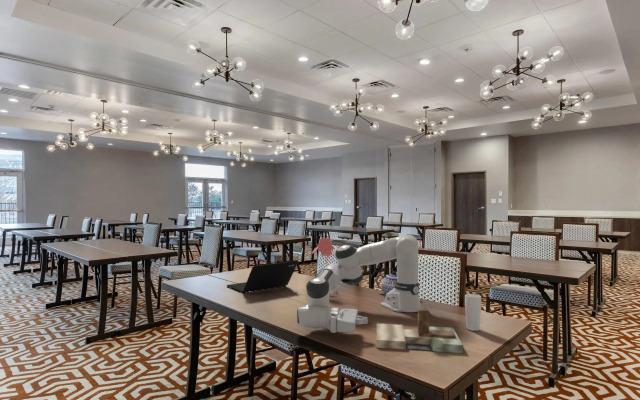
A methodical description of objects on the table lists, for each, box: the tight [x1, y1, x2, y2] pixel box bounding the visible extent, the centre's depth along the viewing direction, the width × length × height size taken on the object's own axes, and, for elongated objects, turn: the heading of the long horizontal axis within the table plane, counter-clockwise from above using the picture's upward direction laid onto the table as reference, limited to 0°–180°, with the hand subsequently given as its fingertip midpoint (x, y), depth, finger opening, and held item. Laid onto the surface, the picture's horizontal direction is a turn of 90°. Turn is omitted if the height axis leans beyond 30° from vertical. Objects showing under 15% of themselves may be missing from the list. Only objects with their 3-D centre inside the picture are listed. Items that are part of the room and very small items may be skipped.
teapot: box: [375, 270, 397, 295], centre depth 228 cm, size 25×15×15 cm, turn 48°
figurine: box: [311, 236, 342, 295], centre depth 233 cm, size 15×26×35 cm, turn 51°
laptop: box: [226, 260, 299, 293], centre depth 245 cm, size 33×38×19 cm
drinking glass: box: [464, 293, 482, 332], centre depth 166 cm, size 7×7×15 cm
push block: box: [416, 307, 456, 338], centre depth 150 cm, size 14×6×10 cm, turn 81°
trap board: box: [375, 323, 464, 354], centre depth 152 cm, size 32×20×3 cm, turn 81°
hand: (367, 320), depth 154 cm, fingers closed
